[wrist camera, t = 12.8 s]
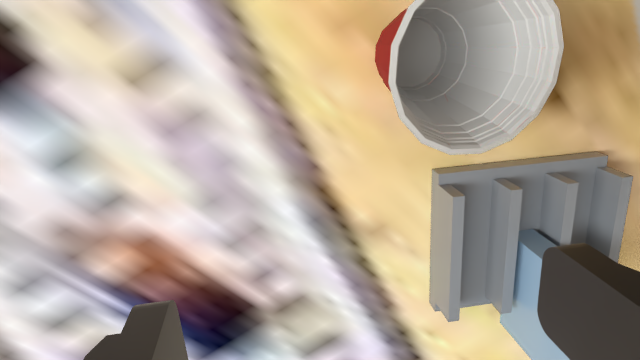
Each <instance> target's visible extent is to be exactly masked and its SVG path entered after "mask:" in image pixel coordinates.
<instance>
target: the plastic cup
mask: <svg viewBox="0 0 640 360" xmlns="http://www.w3.org/2000/svg"><path fill="white" fill-rule="evenodd" d="M563 49H564V42H563V35H562V27H561V20H560V12H559V9H558V7H557V6H556V4H555V2H554V1H553V0H415V1H414V2H413V3H412V4H411V5H410V6H409V7H408V8H407V9H406V10H404V11H403V12H401V13H400V14H399V15H398V16H397V17H396V18H395V19H394V20H393V21H392V22H391V23H390V24H389V25H388V26H387V27H386V28H385V29H384V30H383V31H382V33H381V35H380V38H379V40H378V42H377V44H376V54H375V62H376V65H377V68H378V71H379V74H380V76H381V77H382V79H383V81H384V83H385V85H386V86H387V87H388V89H389V90H390V91H391V93H392V96H393V100H394V103H395V106H396V109H397V112H398V116H399V118H400V120H401V121H402V122H403V123H404V124H405V125H406V127H407V128H408V129H409V130H410V131H411V132H412V133H413V134H414V135H415V137H416V138H417V139H418V140H419V141H420V142H421V143H422V144H425V145H427V146H430V147H432V148H434V149H437V150H439V151H442V152H444V153H447V154H449V155H457V154H479V153H483V152H486V151H488V150H490V149H492V148H495V147H497V146H499V145H501V144H503V143H506V142H508V141H510V140H512V139H513V138H514V137H515V136H516V135H517V134H519V133H520V132H521V131H522V130H523V129H524V128H525V127H526V126H527V125H528V124H529V123H530V122H531V121H532V120H533V119H535V118H536V117H537V116H538V114H539V113H540V111H541V109H542V107H543V106H544V104H545V102H546V100H547V98H548V97H549V95H550V93H551V91H552V90H553V88H554V86H555V84H556V82H557V77H558V73H559V68H560V63H561V58H562V54H563Z"/></svg>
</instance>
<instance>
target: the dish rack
mask: <svg viewBox="0 0 640 360" xmlns="http://www.w3.org/2000/svg"><path fill="white" fill-rule="evenodd" d="M607 160H608V156H607V155H604V154H601V153H599V152H588V153H578V154H569V155H560V156H550V157H541V158H532V159H522V160H513V161H504V162H494V163H485V164H476V165H466V166H457V167H448V168H438V169H432V201H431V250H430V298H429V303H430V304H431V306H432V307H433V309H434V310H435V311H441V312H442V313H443V315H444V316H445V318H446V319H447V321H448V322H452V321H458V320H459V311H460V308H463V307H470V306H476V305H483V304H490V303H492V304H493V306H494V307H495V308H496V309H497V310H498V311H499V312H500V314H505V313H511V311H512V300H513V289H514V278H515V268H516V257H517V246H518V235H519V231H521V230H529V229H533V230H535V231H536V232H538V233H539V234H541V235H542V236H543V237H545V238H546V239H548V240H549V241H551V242H552V243H553V244H555V245H556V246H563V245H570V244H577V243H585V244H588V245H590V246H591V247H593V248H595V249H596V250H598V251H599V252H601V253H602V254H604V255H606V256H607V257H609V258H610V259H612V260H613V261H615V262H617V263H618V259H619V253H620V247H621V242H622V236H623V231H624V225H625V219H626V214H627V208H628V202H629V197H630V191H631V186H632V180H633V176H631V175H628V174H625V173H623V172H620V171H617V170H615V169H612V168H609V167H607Z"/></svg>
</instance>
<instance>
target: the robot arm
mask: <svg viewBox="0 0 640 360" xmlns="http://www.w3.org/2000/svg"><path fill="white" fill-rule="evenodd" d="M537 312H538V318H539V321H540V324H541V326H542V328H543V330H544V332H545V333H546V335H547V336H548V337H549V338H550V339H551V340H552V341H553V342H554V344H555V345H556V346H557V347H558V348H559V349H560V350H561V351H562V352H563V353H564V354H565V355H566V356H567V357H568V358H569V359H570V360H640V272H639V271H636V270H633V269H631V268H628V267H626V266H623V265H620V264H618V263H617V262H615V261H613V260H612V259H610V258H609V257H607V256H606V255H604V254H602V253H601V252H599V251H598V250H596V249H595V248H593V247H591V246H590V245H588V244H585V243H577V244H570V245H563V246H556V247H550V248H548V249H546V251H545V252H544V254H543V258H542V267H541V276H540V286H539V295H538V305H537ZM84 360H188V356H187V351H186V347H185V342H184V337H183V333H182V328H181V323H180V319H179V314H178V309H177V306H176V303H175V302H174V301H173V300H169V301H162V302H155V303H148V304H141V305H135V306H134V307H133V308H132V310H131V312H130V314H129V316H128V319H127V321H126V323H125V326H124V328H123V330H122V332H121V334H114V335H107V336H106V337H105V338H104V339H103V340H101V341H100V342H99V343H98V344H97V345H96V346H95V347H94V348H93V349H92V350H91V351H90V352H89V353H88V354H87V355H86V356H85V358H84Z"/></svg>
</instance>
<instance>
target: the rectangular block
mask: <svg viewBox="0 0 640 360" xmlns="http://www.w3.org/2000/svg"><path fill="white" fill-rule="evenodd" d="M550 247H556V245H555V244H553V243H552V242H551V241H549V240H548V239H546V238H545V237H543V236H542V235H541V234H539V233H538V232H536V231H535V230H533V229H529V230H521V231H519V235H518V246H517V257H516V268H515V278H514V289H513V300H512V311H511V313H505V314H501V316H500V323H501V324H502V325H503V327H504V328H505V329H506V330H507V331H508V333H509V334H510V335H511V336H512V337H513V338H514V340H515V341H516V342H517V343H518V344H519V345H520V347H521V348H522V349H523V350H524V351H525V353H526V354H527V355H528V356H529V357H530V358H531V360H570V359H569V358H568V357H567V356H566V355H565V354H564V353H563V352H562V351H561V350H560V349H559V348H558V347H557V346H556V345H555V344H554V342H553V341H552V340H551V339H550V338H549V337H548V336H547V335H546V333H545V332H544V330H543V328H542V326H541V324H540V321H539V318H538V312H537V305H538V295H539V286H540V276H541V267H542V258H543V254H544V252H545V251H546V249H548V248H550Z"/></svg>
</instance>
